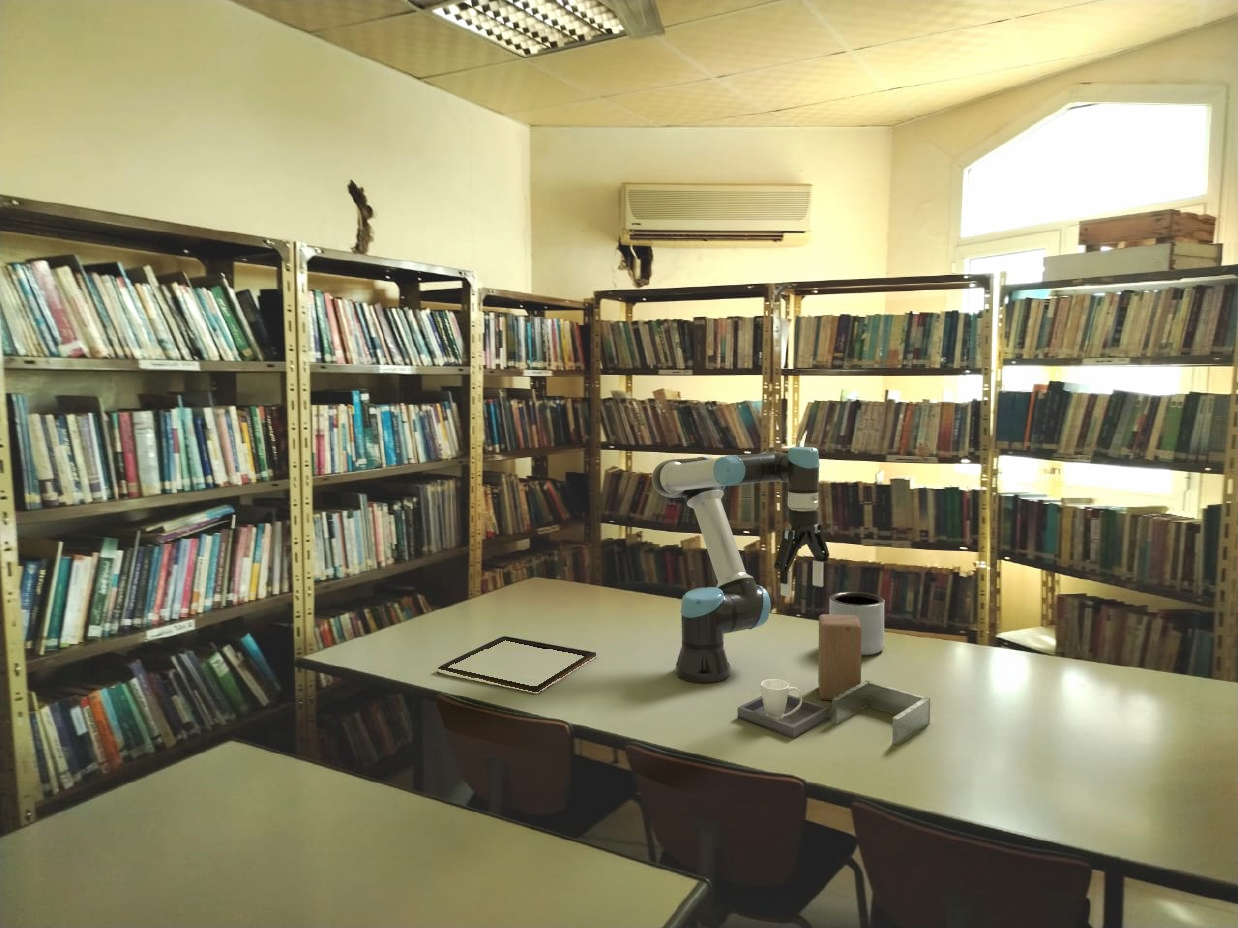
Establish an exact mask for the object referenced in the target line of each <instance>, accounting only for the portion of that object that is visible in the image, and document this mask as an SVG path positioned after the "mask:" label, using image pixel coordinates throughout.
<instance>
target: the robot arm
mask: <svg viewBox="0 0 1238 928" xmlns="http://www.w3.org/2000/svg"><path fill="white" fill-rule="evenodd" d="M819 455H820V454H819V450H818V449H817V448H816V447H812V446H794V447H793V446H792V447H790V448H788V452H787V453H785V452H779V451H778V452H777V451H776V450H775V451H764V452H761V453H754V454H753V453H751V454H739V455H734V454H733V455H732V454H731V455H725V456H720V457H717V458H713V457H710V456H708V457H705V456H698V457H689V458H688V457H687V458H679V459H676V458H675V459H674V458H672V459H666V460H665V461H662V462H661V463H658V464H657V465H656V466H655V468H654V469H653V471H652V475H651V482H652V486H653V489H654V490H656V492H657V493H658V494H660V496H663V497H665V498H670V499H671V498H673V499H674V498H675V499H676V498H684V500H685V502H686V505H687V507H689V508H691V509H693V510H694V511H693V512H694V514H695V517H696V519H697V522H698V526H699V528H700V531H701V534H702V538H703V540H704V544H705V547H706V549H707V554H708V556H709V559H710V562H711V564H712V568H713V571H714V575H715V577H716V580H717V584H716V587H714V586H707V587H704V586H703V587H697V588H694V589H691V590H689V591H686V593H684V595H683V596H682V598H681V605H680V606H681V607H680V614H681V619H680V620H681V621H680V622H681V647H680V650H679V654H678V657H677V661H676V664H675V675H676V676H677V677H678V678H679V679H681V680H683V681H687V682H691V683H697V684H698V683H699V684H710V683H711V684H712V683H718V682H722V681H725V680H726V679H728V678H729V677H730V676H731V665H730V663H729V662H730V661H728V658H727V654H726V650H725V647H724V643H725V641H724V636H725V634H731V633H735V632H736V633H737V632H740V631H746V630H752V629H754V628H759V627H762V626H763V625H765V623H766V622H767V621H768V619H769V617H770V612H771V599H770V595H769V593H768V591H767V590H766V588H764V587H763V586H762V585H759V584H756V581H755V578H754V576H752V575H751V574H748V573H747V571H746V569H745V566H744V563H743V560H742V557H741V554H740V551H739V549H738V546H737V544H736V540H735V537H734V534H733V531H732V528H731V526H730V522H729V520H728V517H727V513H726V511H725V509H724V505H723V502H722V498H723V496H724V494H725V493H724V490H725V489H726V487H732V486H740V485H750V484H761V483H771V482H773V483H774V482H781V483H787V486H788V487H787V506H788V509H787V523H788V524H789V525H790V526H791V527H790V530H786V529H783V530H782V534H781V542H780V545H779V548H778V551H777V554H776V559H775V562H774V565H773V568H774V569H776V570H778V571H779V582H780V596H783V597H787V598H790V597H792V580H793V579H792V572H793V571H792V570H790V569H791V567H792V566H793V562H794V561H795V559H796V556H797V553H798V552H799V550H800V549H802V547H804V546H807V547H808V549H809V551H810V552H811V554H812V556H813V558H814V560H812V586H815V587H820V588H822V587H824V571H825V569H824V567H825V564H824V563H826V562H828V560H829V558H830V551H829V549H828V545H827V542H826V538H825V535H824V527H823V524H820V523H819V510H818V509H817V508H818V507H819V492H820V491H819V487H820V483H819V482H820V479H819V478H820V465H821V464H820V456H819Z"/></svg>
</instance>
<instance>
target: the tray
mask: <svg viewBox="0 0 1238 928" xmlns="http://www.w3.org/2000/svg"><path fill="white" fill-rule="evenodd" d="M799 703H800V697H796V696H794V695H793V696H792V695H791V694H788V697H787V703H786V707H785V711H784V714H787V713H789V712H791V711H792V710H793V709H795V708H796V707H797V706H798V705H799ZM766 714H767V713H766V712H765V708H764V704H763V698H762V695H761V696H758V697H756V698H755V699H752V700H750V701H748V702H746V703H745V704H742V705H740V706H738V707H737V719H740V720H742V721H745V722H748V723H750V724H753V725H756V726H759V727H761V728H764V729H766V730H769V731H772V732H775V733H777V734H780V735H783V736H785V737H788V738H791V739H796V738H797V737H800V736H801V735H803V734H805V733H806V732H808V731H810V730H812V729H813V728H814V729H815V727H817V726H819V725H821V724H822V723H824V722H825V721H827V720H829V719H830V708H829V707H828V706H825V705H821V704H818V703H815V702H811V701H809V700H806V699H803V698H802V704H801V706H800V708H799V709H798V710H796V711H795V712H794V713H792V714H791V715H789V716H787V717H783V719H780V720H777V719H774V718H771V717H769V716H766Z"/></svg>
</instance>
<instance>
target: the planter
mask: <svg viewBox="0 0 1238 928" xmlns="http://www.w3.org/2000/svg"><path fill="white" fill-rule="evenodd" d="M829 614H832V615H855V616H857V617H858V619H859V622H860V625H861V628H862V645H861V657H862V656H872V655H873V656H874V655H877V654H878V653H880V652H882V651H883V650H884V648H885V599H884V598H883V597H881V596H879V595H877V594H874V593H868V592H862V591H841V592H836V593H832V594H831V595H830V596H829Z"/></svg>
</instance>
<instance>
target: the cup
mask: <svg viewBox="0 0 1238 928" xmlns="http://www.w3.org/2000/svg"><path fill="white" fill-rule="evenodd" d="M760 689H761V690H760V691H761V696H762V698H763V704H764V708H765V712H766V713H767V714H766V716H769V717H771V718H774V719H777V720H780V719H783V717H787V716H789V715H791V714H792V713H794V712H795V711H796V710H798V709H799V708H800V706H801V704H802V699H803V698H802V697H803V696H802V692H801V691H800V690H799V689H798V688H797V687H795V686H790V683H788V682H787V681H785V680H784V679H778V678H769V679H764V680H762V681H761V683H760ZM794 690H795V691H797V693H798V694H799V698H800V703H799V705H798V706H797V707H796V708H795V709H793V710H792V711H791V712H789V713H787V714H784V711H785V707H786V703H787V697H788V695H789V692H790V691H794Z"/></svg>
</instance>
